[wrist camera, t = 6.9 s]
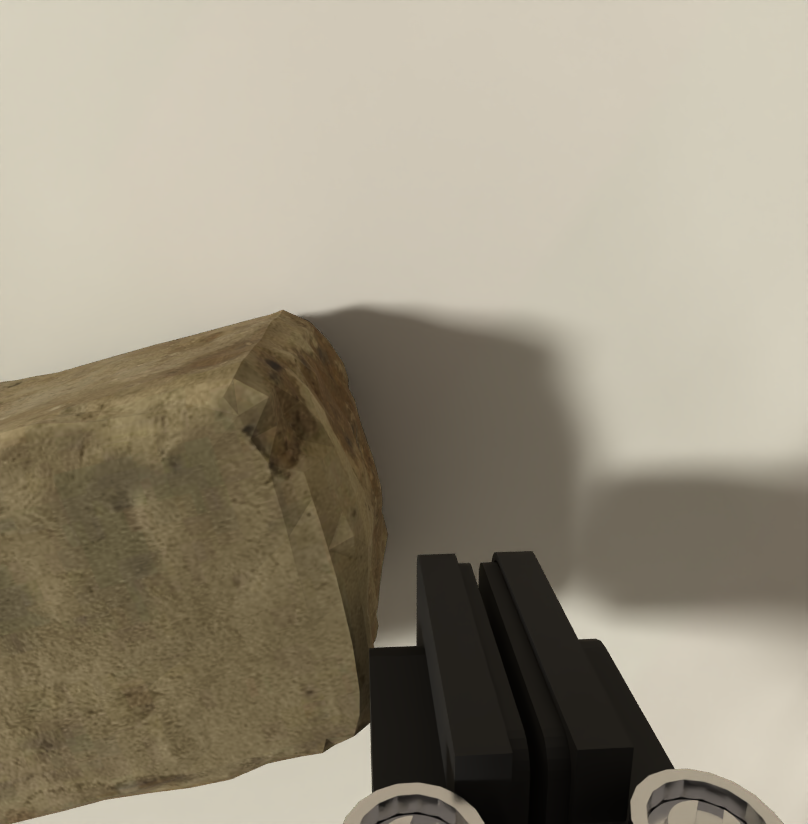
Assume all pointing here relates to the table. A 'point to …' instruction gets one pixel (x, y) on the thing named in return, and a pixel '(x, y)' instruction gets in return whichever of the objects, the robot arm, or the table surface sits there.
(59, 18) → the table surface
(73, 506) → the stone block
